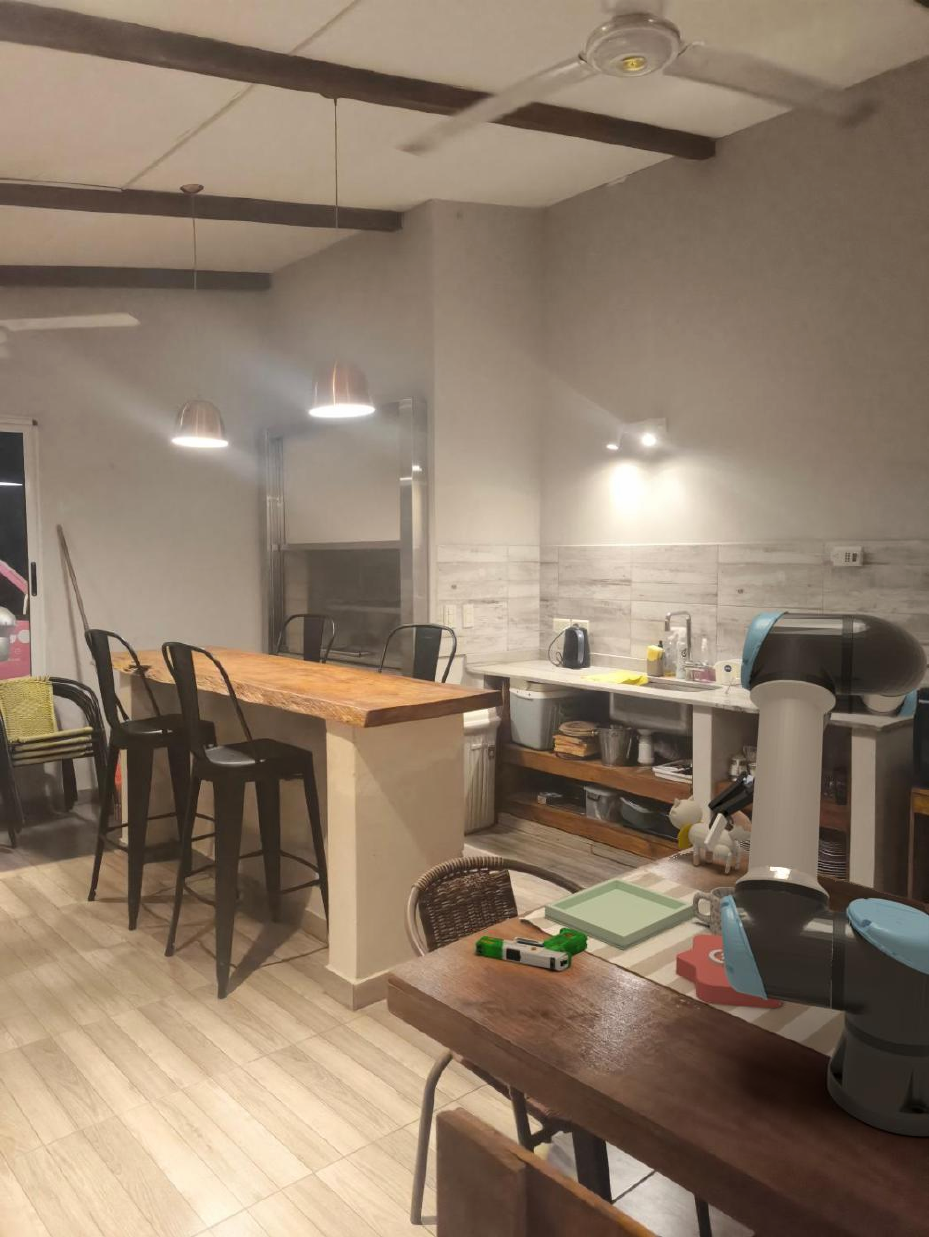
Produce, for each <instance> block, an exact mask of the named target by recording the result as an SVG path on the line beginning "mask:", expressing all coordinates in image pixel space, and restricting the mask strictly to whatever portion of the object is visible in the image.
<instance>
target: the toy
mask: <svg viewBox="0 0 929 1237" xmlns="http://www.w3.org/2000/svg"><path fill="white" fill-rule="evenodd" d="M673 803H674V804H673V805H672V807H671V809H670V811H669V814H668V816H669V820H670V823H671V824H672V825H673V826H674V828H676V829H679V830H680V831H679V832H678V834H677V841H678V849H679V850H687V849H689V847H691V846H692V845H693V847H692V848H693V850H692V853H693V854H692V855H693V856H692V863H693V865H694V866H696V867H698V866H699V865H700V856H701V854H700V853H701V850H700V849H702V850H705V858H704V859H705V862H706V863H707V864H711V863H712V862H713V858H715V859H717V860H718V861H725V860H726V862H725V863H726V864H725V868H724V873H725V874H726V875H727V874H729V873H730V870H731V865H732V864H731V863H732V857H735V862H734V869H735V870H736V871H737V870H739V868H740V866H741V861H742V860H741V859H742V852H743V850H742V849H741V845H740V843H739V841H740V842H747V841H748V840H750V838H751V825H752V820H750V819H749V817H748V816H747V815H746V814H745V813H744V812H742V811H741V810H739V811H737V812H736V813H734V814H732V815H730V818H732V820H733V827H732V829H731V830H730V831H729V830H727V829H725V828H724V830H723V832H722V834H721V836H720V839H719V841H718V843H717V845H716V847H715V849H714V851H710V850H709V849H708V847H707V846H706V845H705V843H704V842H705V840H706V837H707V835H708V833H709V831H710V829H709V824H707V823H704V822H703V821H702V819H703V808H702V807H701V806H700V805H699V804H698V802H696V801H694V794H691V796H689V798H687V799H678V798H677V797H675V798H674V801H673Z"/></svg>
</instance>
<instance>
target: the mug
mask: <svg viewBox="0 0 929 1237" xmlns="http://www.w3.org/2000/svg"><path fill="white" fill-rule="evenodd" d="M734 892H735V887H733V886H719V887H714V888H713V889H711V890H710V892H696V893H694V895H693V898H692V904H693V913H694V917H693V918H695V919H698V920H699V921H702V922H703V923H705V924H708V925H709V931H710V933H712V935H720V936H722V931H721V906H722V905H721V901H722V898H723V897H725V896H728V895H732V897H734ZM701 899H702V900H705V901H708V902H709V915H706V914H704V913H703V914H702V913H700V911H699V902H700V900H701Z"/></svg>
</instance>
